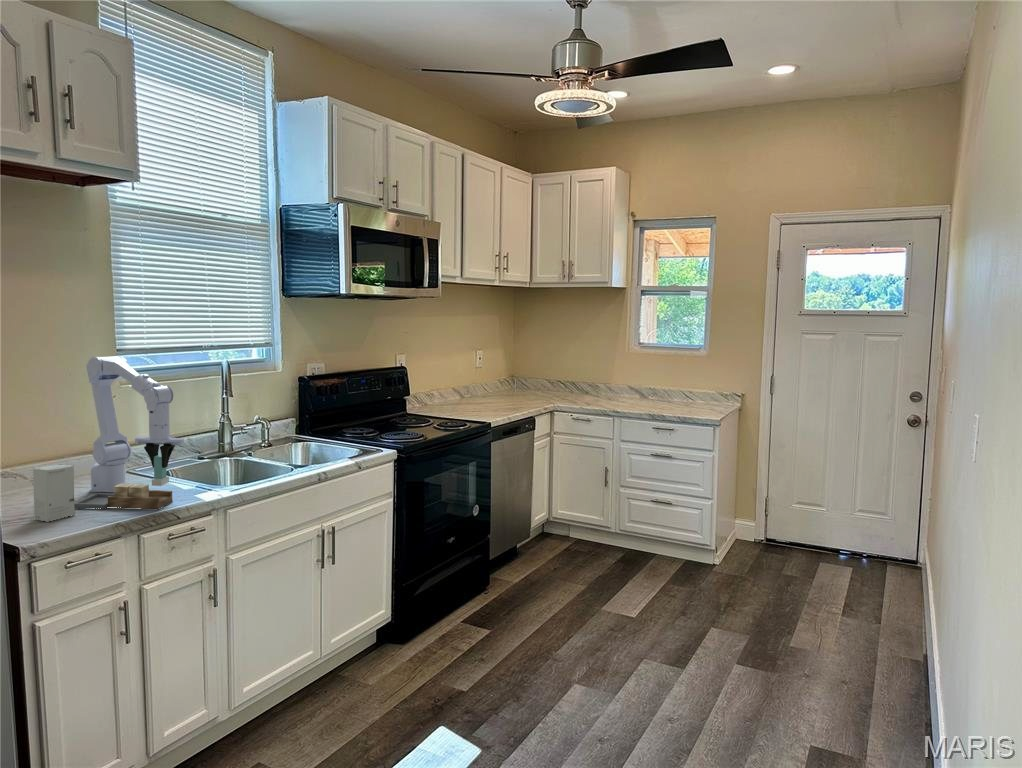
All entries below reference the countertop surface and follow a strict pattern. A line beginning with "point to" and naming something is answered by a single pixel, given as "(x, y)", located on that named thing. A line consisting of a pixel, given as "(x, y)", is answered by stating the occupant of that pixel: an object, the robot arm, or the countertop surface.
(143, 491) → the block
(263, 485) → the countertop surface
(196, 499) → the countertop surface
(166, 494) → the slot board
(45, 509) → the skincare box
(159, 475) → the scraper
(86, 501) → the chip tray
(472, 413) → the countertop surface
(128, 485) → the block
